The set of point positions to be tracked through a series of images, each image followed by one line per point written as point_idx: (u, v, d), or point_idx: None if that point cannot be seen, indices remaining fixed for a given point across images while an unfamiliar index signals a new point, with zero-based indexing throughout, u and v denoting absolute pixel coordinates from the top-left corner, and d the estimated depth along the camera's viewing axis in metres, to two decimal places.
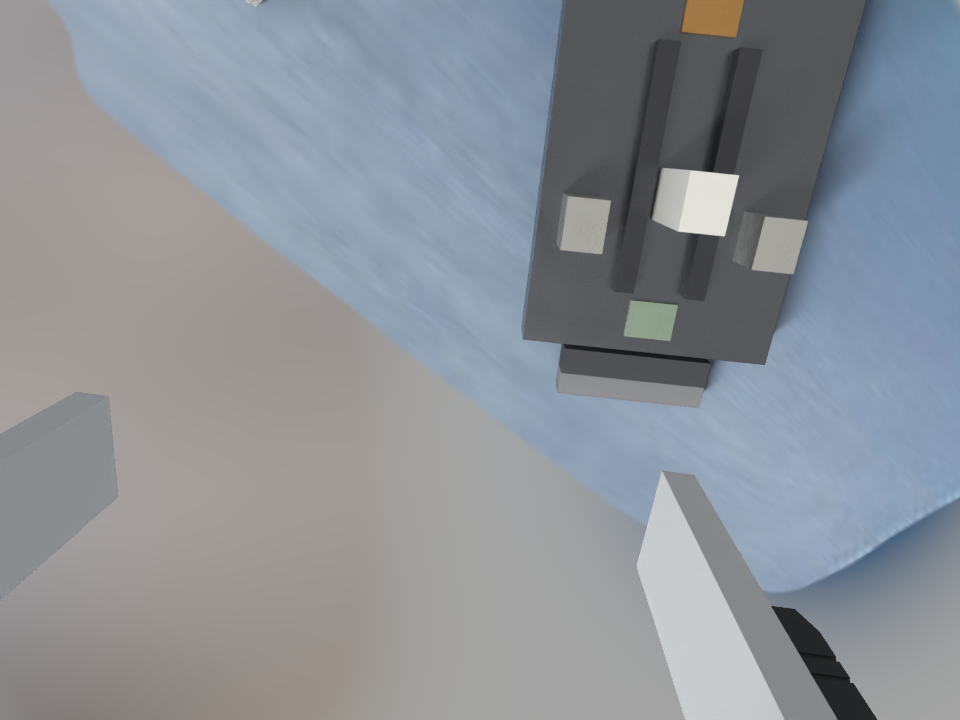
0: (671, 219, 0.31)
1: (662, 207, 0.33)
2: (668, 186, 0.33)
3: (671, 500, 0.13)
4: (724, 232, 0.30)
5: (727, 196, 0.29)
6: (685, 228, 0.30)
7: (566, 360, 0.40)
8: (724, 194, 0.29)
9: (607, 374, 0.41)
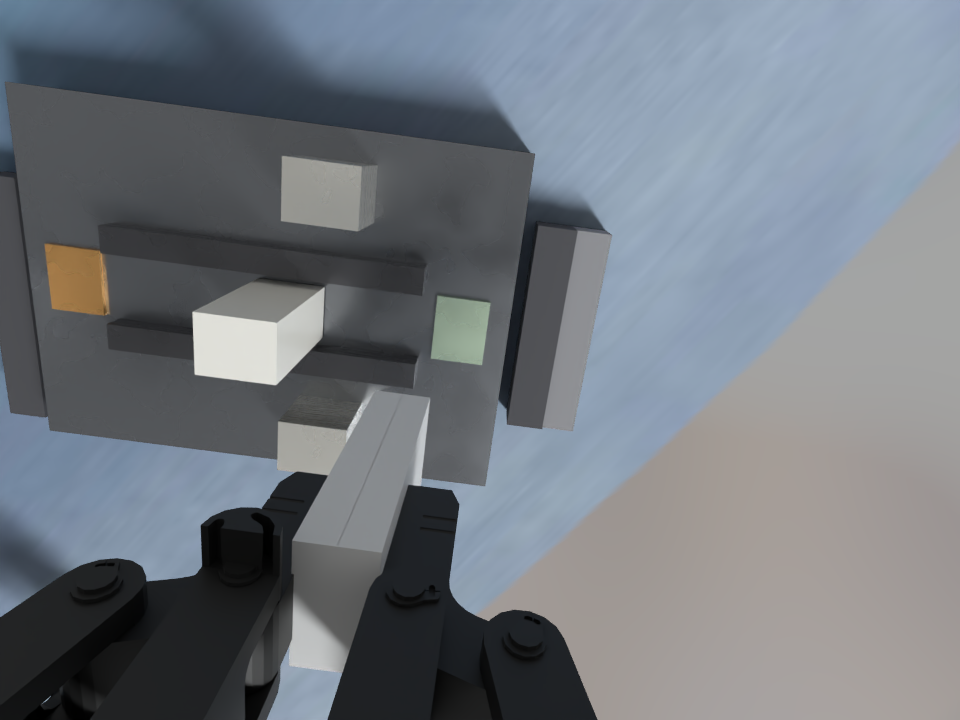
0: None
1: None
2: None
3: (395, 414, 0.15)
4: (271, 323, 0.21)
5: (222, 324, 0.21)
6: (271, 375, 0.21)
7: (524, 422, 0.30)
8: (220, 328, 0.21)
9: (547, 369, 0.29)
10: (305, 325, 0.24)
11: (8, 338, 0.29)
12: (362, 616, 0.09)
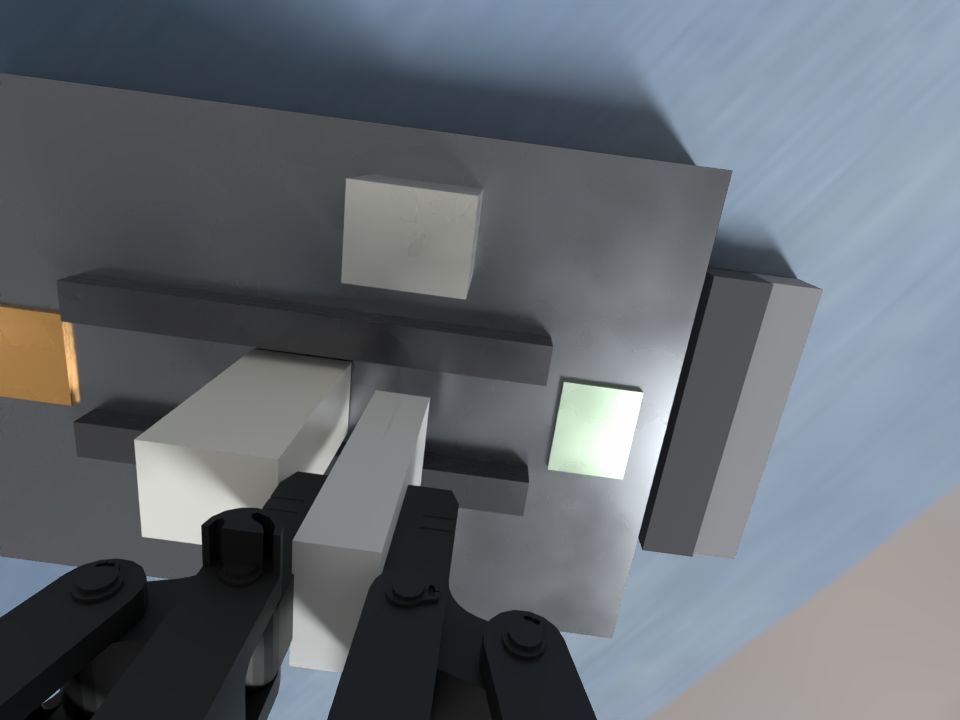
0: None
1: None
2: None
3: (395, 414, 0.15)
4: (269, 460, 0.12)
5: (185, 460, 0.12)
6: None
7: (667, 547, 0.21)
8: (181, 467, 0.12)
9: (707, 477, 0.20)
10: (324, 432, 0.16)
11: None
12: (362, 616, 0.09)
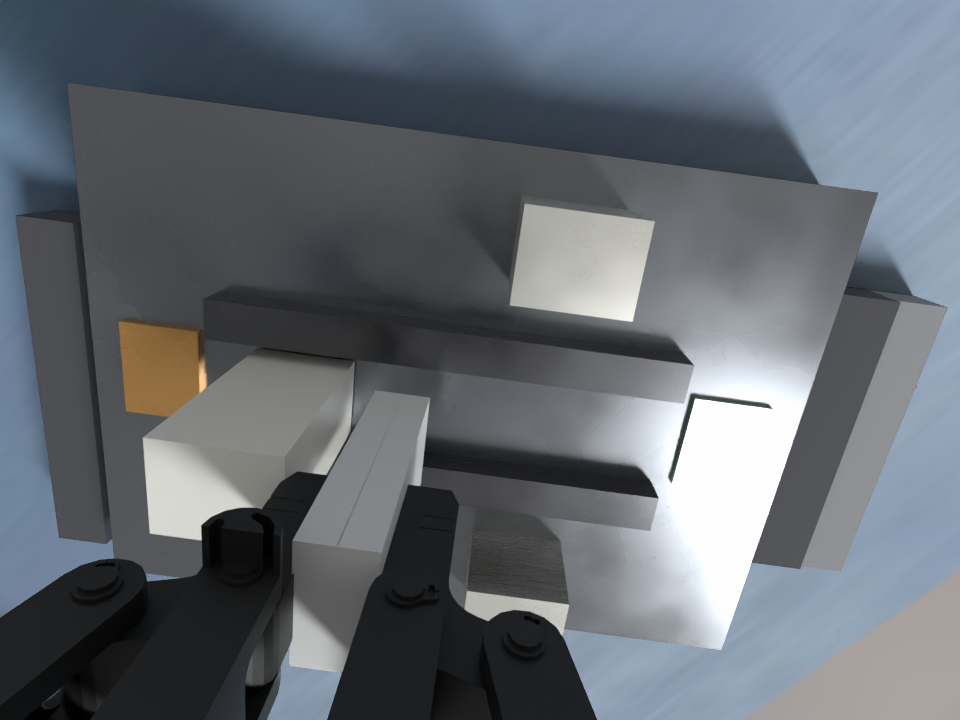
0: None
1: None
2: None
3: (395, 414, 0.15)
4: (275, 457, 0.12)
5: (192, 458, 0.12)
6: None
7: (775, 560, 0.21)
8: (189, 464, 0.12)
9: (821, 491, 0.20)
10: (328, 430, 0.16)
11: (59, 441, 0.21)
12: (362, 616, 0.09)
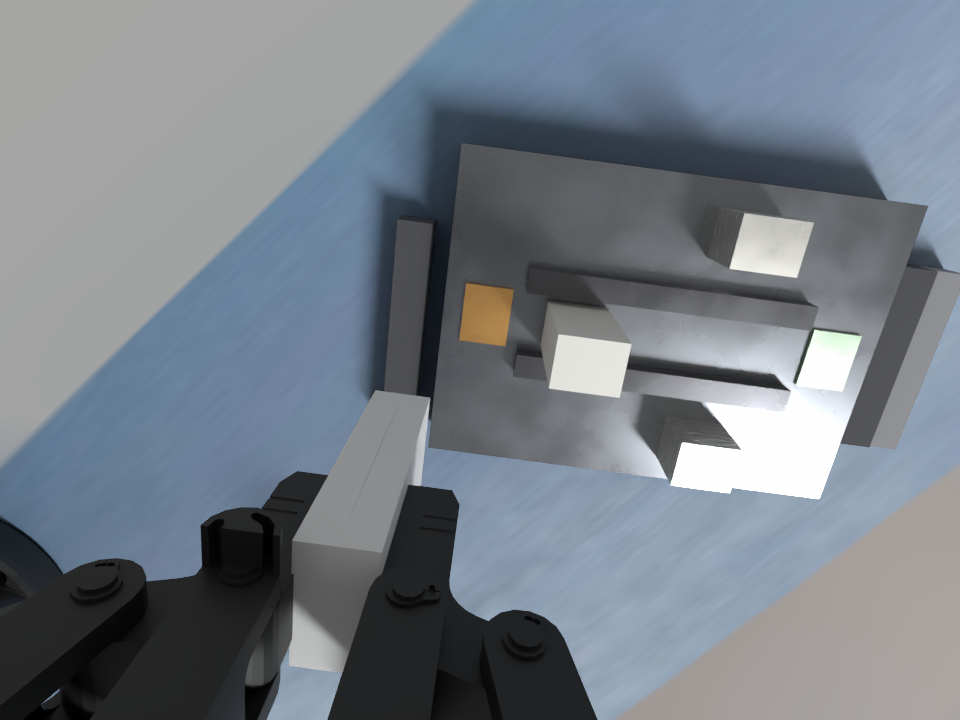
0: None
1: None
2: None
3: (395, 414, 0.15)
4: (626, 344, 0.24)
5: (582, 345, 0.24)
6: (617, 389, 0.25)
7: (854, 441, 0.33)
8: (579, 348, 0.24)
9: (885, 394, 0.32)
10: None
11: (394, 364, 0.32)
12: (362, 616, 0.09)
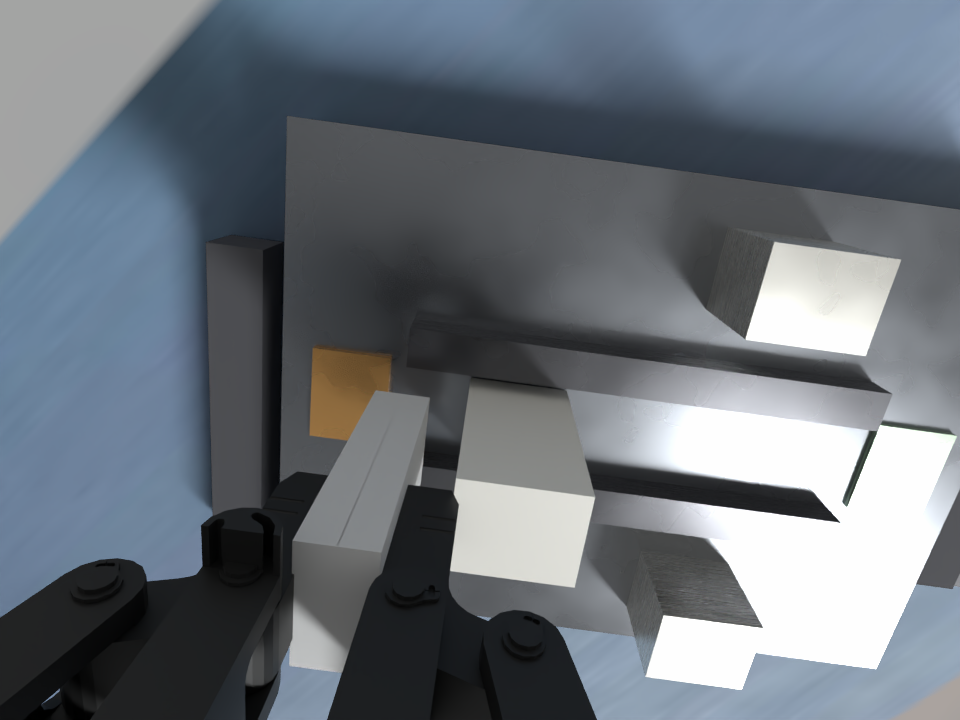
0: None
1: None
2: None
3: (395, 414, 0.15)
4: (585, 498, 0.13)
5: (502, 498, 0.13)
6: (569, 574, 0.13)
7: (929, 580, 0.21)
8: (497, 504, 0.13)
9: None
10: None
11: (224, 463, 0.21)
12: (362, 616, 0.09)
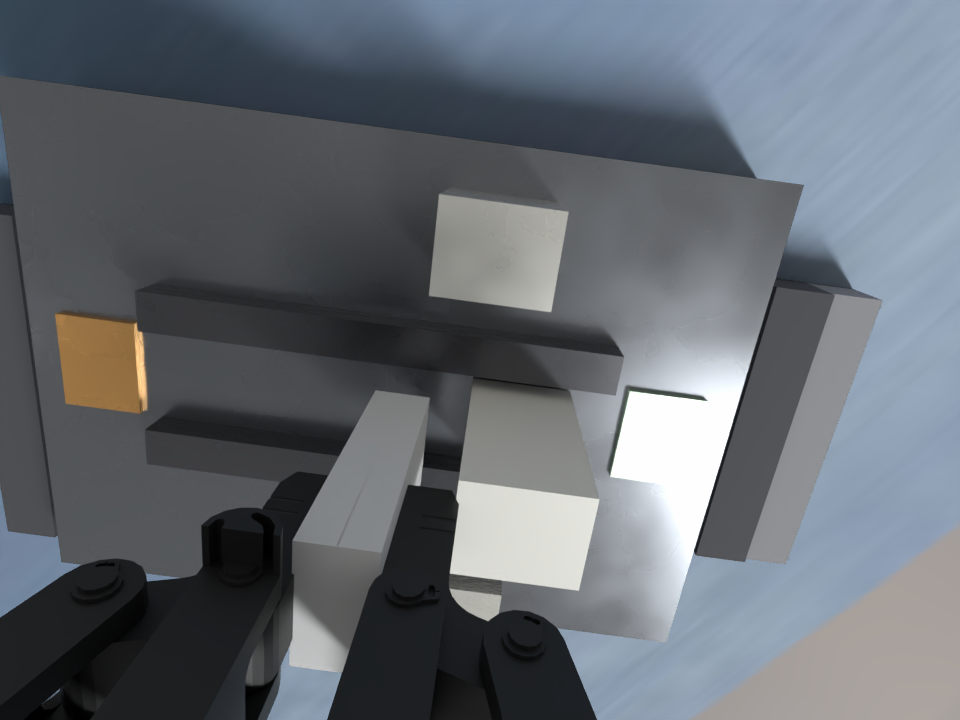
0: None
1: None
2: None
3: (395, 414, 0.15)
4: (590, 500, 0.12)
5: (505, 500, 0.12)
6: (573, 577, 0.13)
7: (720, 553, 0.21)
8: (500, 506, 0.13)
9: (763, 484, 0.20)
10: None
11: (4, 435, 0.21)
12: (362, 616, 0.09)
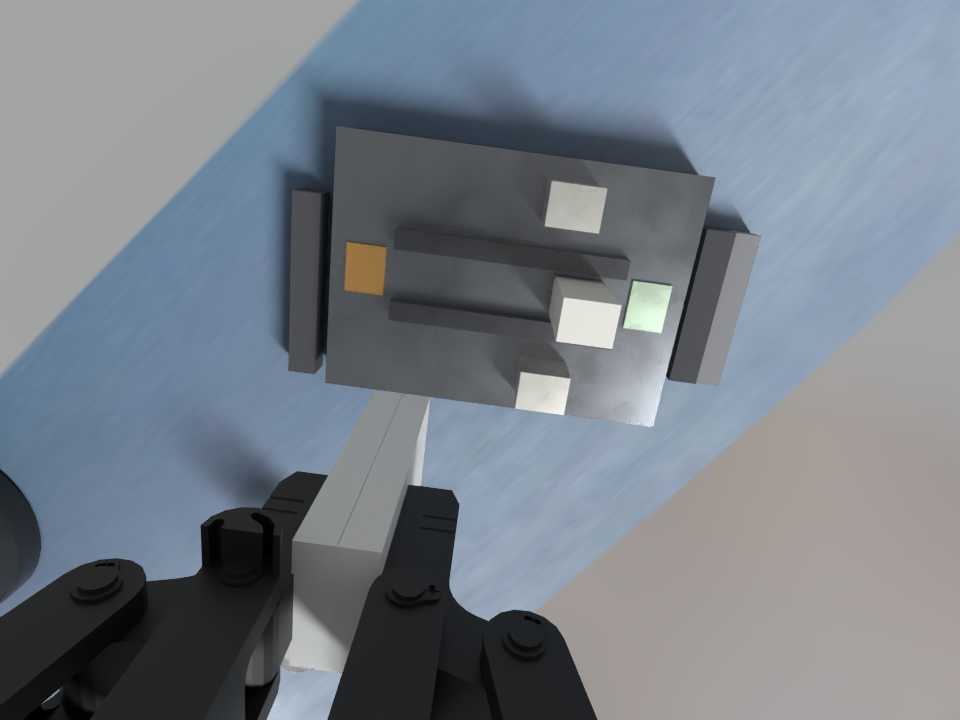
0: None
1: None
2: None
3: (395, 414, 0.15)
4: (617, 305, 0.30)
5: (583, 306, 0.30)
6: (610, 342, 0.31)
7: (682, 378, 0.39)
8: (580, 309, 0.30)
9: (704, 337, 0.38)
10: None
11: (296, 313, 0.39)
12: (362, 616, 0.09)
